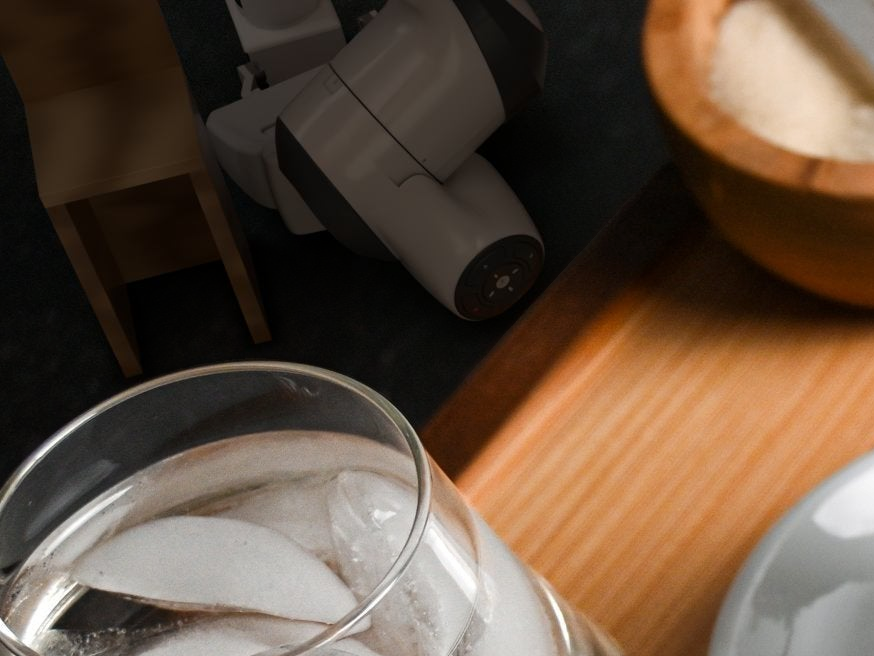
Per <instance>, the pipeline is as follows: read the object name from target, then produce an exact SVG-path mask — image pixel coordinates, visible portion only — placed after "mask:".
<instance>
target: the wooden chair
mask: <svg viewBox="0 0 874 656" xmlns="http://www.w3.org/2000/svg"><path fill="white" fill-rule="evenodd" d="M0 55H1V57H2V59H3V61H4V63H5V66H6V68H7V71H8V73H9V74H10V76H11V79H12V81H13V83H14V85H15V87H16V89H17V92H18V94H19V96H20V98H21V100H22V102H23V106H24V112H25V119H26V124H27V125H26V126H27V131H28V135H29V142H30V143H29V144H30V149H31V154H32V155H31V156H32V160H33V167H34V173H35V179H36V186H37V193H38V196H39V199H40V201H41V203H42V205H43V207H44V209H45V211H46V213H47V216H48V217H49V219H50V222H51V224H52V226H53V228H54V230H55V232H56V234H57V237H58V238H59V241H60V243H61V245H62V247H63V249H64V251H65V253H66V256H67V257H68V260H69V262H70V264H71V266H72V269H73V270H74V272H75V274H76V277H77V279H78V280H79V282H80V285H81V287H82V289H83V292H84V293H85V295H86V297H87V299H88V302H89V303H90V306H91V307H92V310H93V312H94V314H95V317H96V318H97V320H98V323H99V325H100V327H101V329H102V332H103V333H104V335H105V337H106V339H107V341H108V344H109V346H110V348H111V350H112V352H113V354H114V356H115V359H116V360H117V363H118V364H119V366H120V369H121V371H122V373H123V375H124V377H125V378H131V377H134V376H138V375H142V374H144V370H143V365H142V359H141V355H140V354H141V353H140V348H139V344H138V339H137V333H136V328H135V323H134V317H133V313H132V309H131V302H130V298H129V293H128V287H127V284H129V283H133V282H136V281H137V282H138V281H141V280H144V279H145V280H146V279H149V278H152V277H153V278H154V277H156V276H160V275H164V274H168V273H172V272H176V271H180V270H185V269H189V268H192V267H196V266H201V265H203V264H208V263H212V262H216V261H222V264H223V267H224V269H225V272H226V274H227V277H228V280H229V282H230V285H231V288H232V289H233V292H234V294H235V298H236V301H237V303H238V305H239V308H240V310H241V313H242V315H243V318H244V320H245V323H246V325H247V329H248V330H249V334H250V336H251V338H252V341H253V343H254V345H258V344H261V343H266V342H269V341H272V340H273V338H272V334H271V329H270V326H269V322H268V321H269V320H268V317H267V314H266V313H267V312H266V309H265V306H264V301H263V297H262V293H261V289H260V285H259V281H258V277H257V274H256V270H255V266H254V261H253V258H252V253H251V249H250V246H249V245H250V244H249V242H248V240H247V237H246V235H245V232H244V231H245V230H244V229H243V226H242V224H241V221H240V218H239V215H238V213H237V210H236V207H235V203H234V202H233V199H232V196H231V194H230V190H229V188H228V186H227V184H226V181H225V178H224V175H223V172H222V169H221V166H220V163H219V161H218V159H217V157H216V155H215V153H214V150H213V148H212V145H211V143H210V140H209V137H208V134H207V131H206V125H205V123H204V121H203V119H202V116H201V113H200V110H199V108H198V104H197V101H196V100H195V97H194V94H193V92H192V89H191V87H190V84H189V81H188V78H187V76H186V73H185V71H184V67H183V64H182V62H181V59H180V56H179V54H178V51H177V49H176V45H175V43H174V41H173V38H172V35H171V32H170V30H169V27H168V24H167V22H166V19H165V16H164V14H163V11H162V8H161V6H160V3H159V0H0Z"/></svg>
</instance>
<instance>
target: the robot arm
mask: <svg viewBox="0 0 874 656" xmlns="http://www.w3.org/2000/svg"><path fill="white" fill-rule="evenodd" d="M356 23H357V25H359V27H358V30H359V32H358V33H357V34H356V35H355V36H354V37H353V38H352V39H351V40H350V41H348V43H346V44H347V45H346V46H345V47H344V48H343V49H342V50H341V51H340V52H339V54H338V55H337V56H336V57H335V58H334V59H333V60H332V61H331V62H328V63H326V64H323V65H321V66H319V67H316V68H314V69H312V70H309V71H307V72H304V73H302V74H300V75H297V76H295V77H293V78H290V79H288V80H286V81H283V82H281V83H278V84H276V85H274V86H271V87H270V86H269V83H268V82H267V81H266V79H267V77H266V74H265V71H264V69H263V68H262V67H261V65H259V64H258V62H257V60H254V61H251V62H249V63H247V62H246V63H244V64H241V65H239V66H237V67H236V71H237V74H238V77H239V80H240V83H241V84H242V85H241V91H240V97H241V99H238V100H236V101H234V102H232V103H229V104H226V105H224V106H221V107H219V108H216V109H214V110H212V111H211V112H210V113H209V114H208V117H207V119H206V122H205V129H206V132H207V134H208V137H209V140H210V143H211V145H212V148H213V151H214V153H215V156H216V159H217V161H218V164H219V166H220V167H222V169H223V170H224V171H225V173H226V174H227V175H228V176H229V178H231V180H232V181H233V182H234V183H235V184H236V185H237V186H238V187H239V188H240V190H242V191H243V192H244V193H245V194H246V195H247V196H249V197H250V198H251V199H252V200H253V201H254V202H255V203H257V204H259V205H261V206H263V207H264V208H268V209H270V210H271V209H272V210H277V212H278V213H279V215H280V217H281V219H282V221H283V223H284V225H285V226H286V228H287V229H288V231H289V232H290V233H291V234H293V235H300V236H301V235H308V234H315V233H317V232H323V231H327V232H328V233H329V234H330V235H331V236H332V237H333V238H334V239H336V241H337V242H338V243H340V244H341V245H343V247H345V248H347V249H348V250H350V251H351V252H353V253H355V254H356V255H358V256H362V257H367V258H371V259H375V260H380V261H387V262H400V264H401V265H402V266H403V267H404V268H405V269H406V270H407V271H408V273H409V274H410V275H411V276H412V277H413V278H414V279H415V280H416V282H418V284H420V285H421V286H422V288H423V289H425V290H426V291H427V292H428V293H429V294H430V295H431V296H432V297H433V298H434V299H436V300H437V301H438V302H439V303H440V304H441V305H442V306H444V308H446V309H448V310H449V311H450V312H451V313H453V314H454V315H455V316H457V317H459V318H461V319H463V320H466V321H471V322H476V321H478V322H479V321H485V320H489V319H492V318H494V317H497V316H499V315H501V314H502V313H504V312H506V311H507V310H509V309H510V308H512V307H513V305H515V304H516V303H517V302H518V301H519V300H520V299H521V298H522V297H524V295H525V294H527V292H528V291H529V290H530V289H531V288H532V287H533V286H534V284H535V282H536V281H537V279H538V278H539V276H540V274H541V272H542V269H543V266H544V262H545V256H546V255H545V250H546V249H545V244H544V242H543V239H542V237H541V234H540V232H539V231H538V228H537V226H536V225H535V223H534V221H533V220H532V218H531V216H530V215H529V213H528V211H527V210H526V208H525V206H524V204H523V203H522V202H521V200H520V199H519V197H518V196H517V194H516V193H515V192H514V190H513V189H512V188H511V186H510V184H509V183H508V182H507V181H506V180H505V179H504V178H503V176H502V175H501V174H500V172H499V171H498V170H497V169H496V168H495V166H494V165H493V164H492V163H491V162H490V161H489V160H487V158H485V157H484V156H483V155H481V154H479V153H477V152H476V151H477V149H479V147H480V146H481V145H483V144H484V143H485V142H486V140H487V139H489V138H490V137H491V135H492V134H494V133H495V132H496V131H497V130H498V129H499V128H500V126H502V125H506V124H507V123H509V121H511V120H512V119H513V118H514V117H515V116H517V115H518V114H519V113H520V112H521V111H523V110H524V109H525V108H527V107H528V106H529V105H530V104H531V103H533V102H534V101H535V100H536V99H537V98H538V97H539V96H541V95H542V94H543V91H544V85H545V80H546V75H547V66H548V52H549V51H548V50H549V49H548V48H549V45H548V43H549V42H548V34H547V33H546V31H545V30H544V29H543V26H542V23H541V21H540V19H539V16H537V14H536V12H535V10H534V9H533V7H532V6H531V5H530V4H529V2H528V1H527V0H387V1H386V3H385V4H384V5H383V7H381V9H380V10H379V11H377V10H376V9H372V10H371V11H368V12H366V13H364V14H361V15H360V16H358V17H357V16H356Z"/></svg>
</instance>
